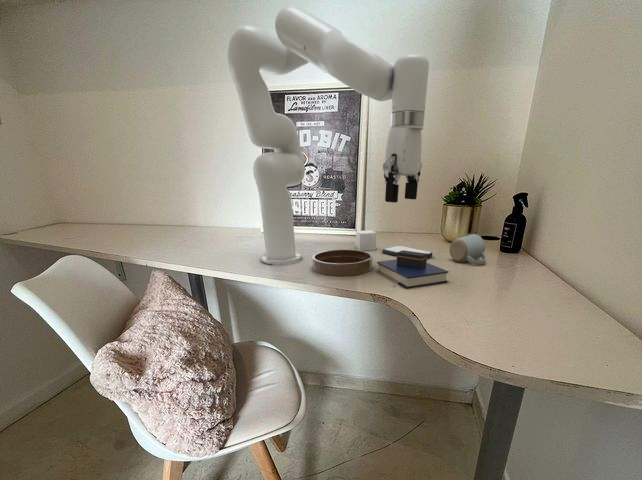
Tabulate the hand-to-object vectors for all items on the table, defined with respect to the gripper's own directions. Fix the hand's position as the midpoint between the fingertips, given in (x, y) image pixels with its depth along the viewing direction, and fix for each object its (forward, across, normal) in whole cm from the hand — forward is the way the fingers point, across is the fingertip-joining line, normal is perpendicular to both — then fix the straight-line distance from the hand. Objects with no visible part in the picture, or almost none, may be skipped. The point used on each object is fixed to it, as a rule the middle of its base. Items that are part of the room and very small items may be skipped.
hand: (401, 200), depth 84 cm
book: (+19, 0, +4) cm, 20 cm away
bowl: (+20, +5, -15) cm, 25 cm away
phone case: (+20, -21, -8) cm, 30 cm away
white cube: (+20, -22, -25) cm, 39 cm away
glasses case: (+16, 0, +4) cm, 17 cm away
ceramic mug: (+19, -25, +11) cm, 34 cm away
